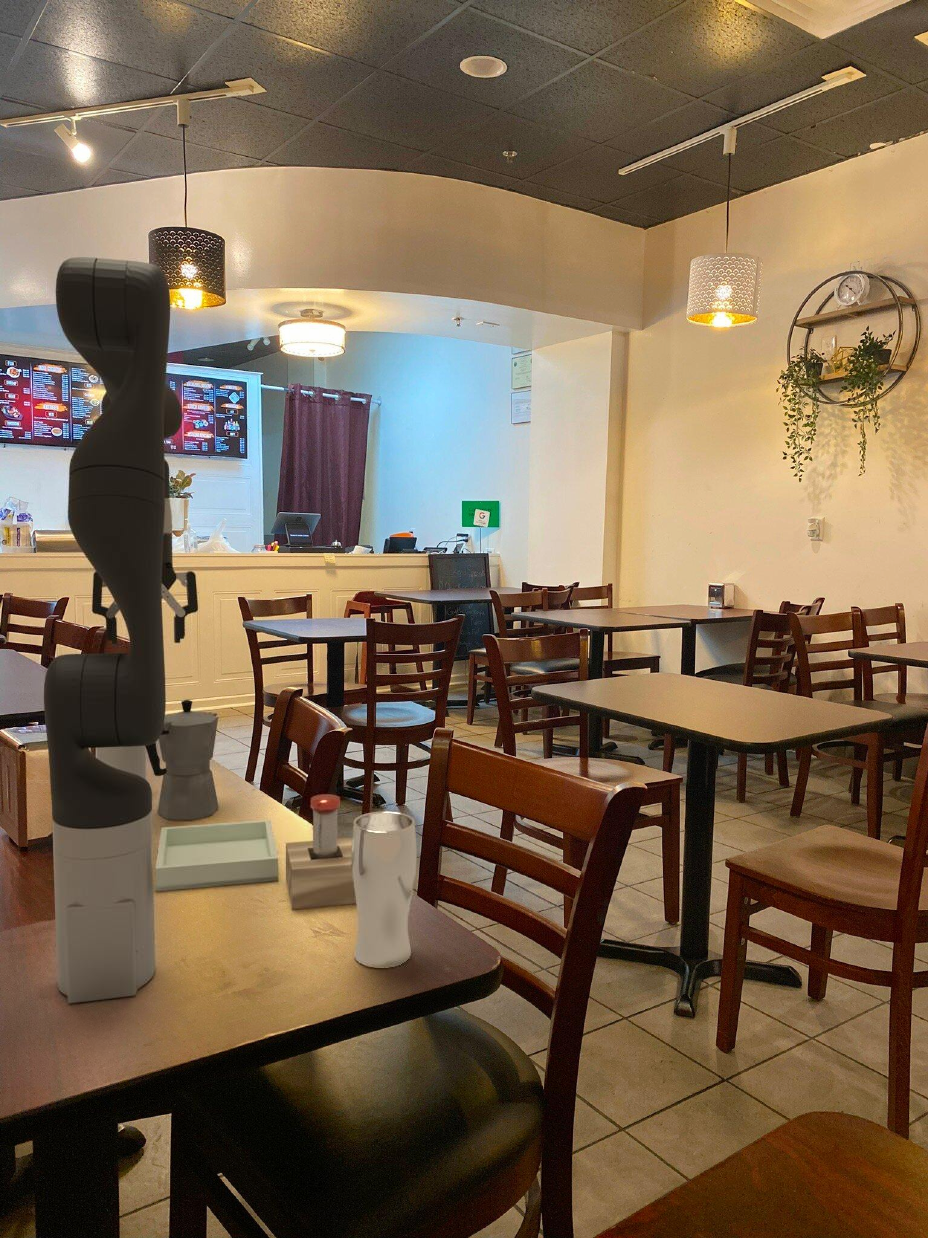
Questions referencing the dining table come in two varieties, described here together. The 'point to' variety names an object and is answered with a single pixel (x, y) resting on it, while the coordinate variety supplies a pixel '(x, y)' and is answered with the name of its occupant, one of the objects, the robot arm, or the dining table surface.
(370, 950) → the beer glass
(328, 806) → the pin
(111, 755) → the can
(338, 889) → the block
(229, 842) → the tray
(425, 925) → the dining table surface
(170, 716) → the coffeepot
